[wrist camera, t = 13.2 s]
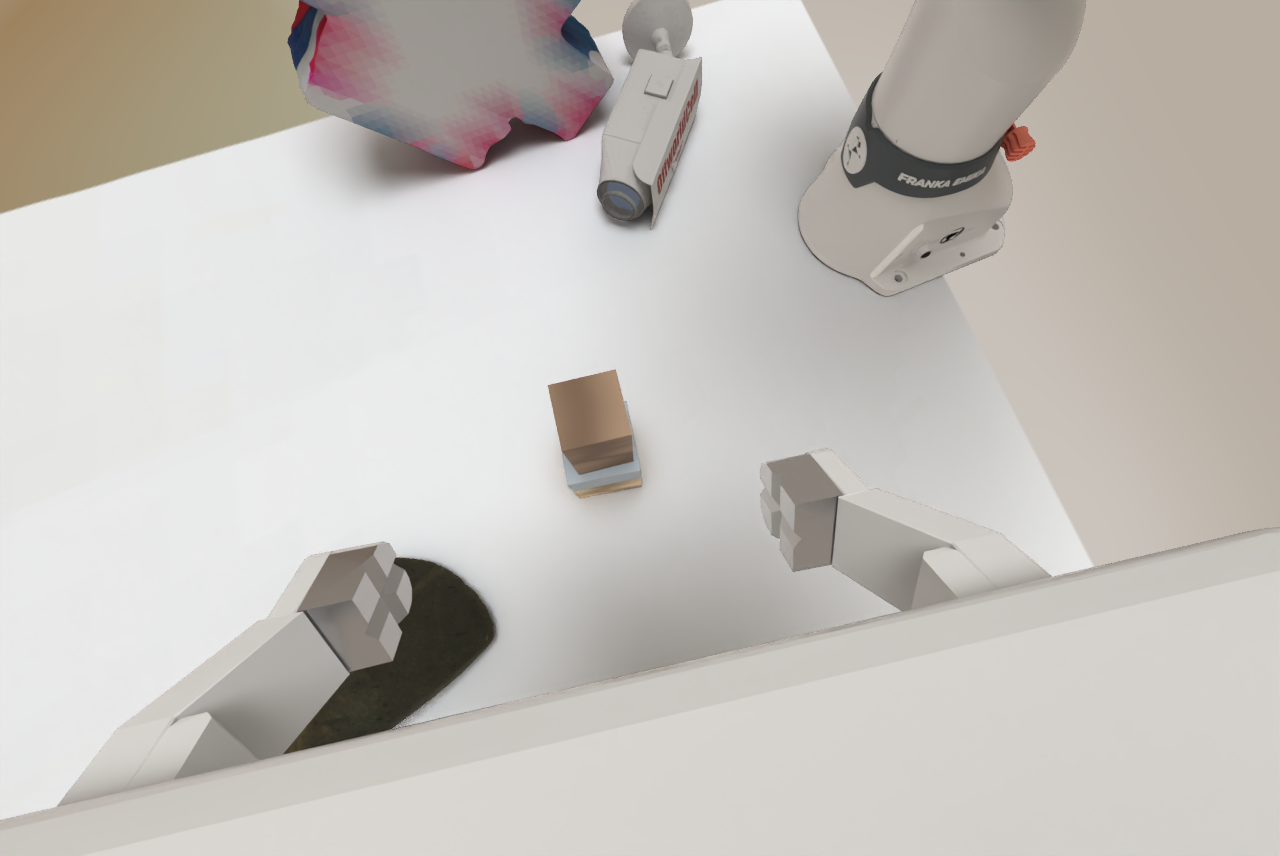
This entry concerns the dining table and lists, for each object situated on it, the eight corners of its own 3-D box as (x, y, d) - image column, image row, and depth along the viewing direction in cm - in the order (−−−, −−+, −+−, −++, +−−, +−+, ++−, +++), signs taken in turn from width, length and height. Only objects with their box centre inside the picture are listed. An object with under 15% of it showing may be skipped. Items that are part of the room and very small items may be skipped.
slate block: (627, 414, 44) (626, 401, 40) (640, 477, 42) (640, 470, 39) (562, 427, 44) (555, 414, 40) (573, 491, 42) (567, 485, 38)
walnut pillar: (620, 410, 40) (615, 369, 31) (633, 461, 39) (632, 434, 30) (567, 422, 40) (547, 385, 31) (579, 474, 38) (561, 451, 30)
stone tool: (353, 824, 37) (221, 790, 32) (352, 744, 44) (243, 706, 39) (512, 627, 41) (416, 570, 36) (487, 584, 48) (405, 531, 43)
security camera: (598, 192, 46) (749, 164, 47) (559, 2, 52) (694, -21, 52) (605, 243, 54) (734, 220, 55) (571, 74, 60) (688, 54, 60)
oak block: (629, 427, 48) (629, 416, 44) (641, 486, 46) (641, 480, 42) (570, 438, 47) (564, 428, 44) (580, 498, 46) (575, 493, 42)
